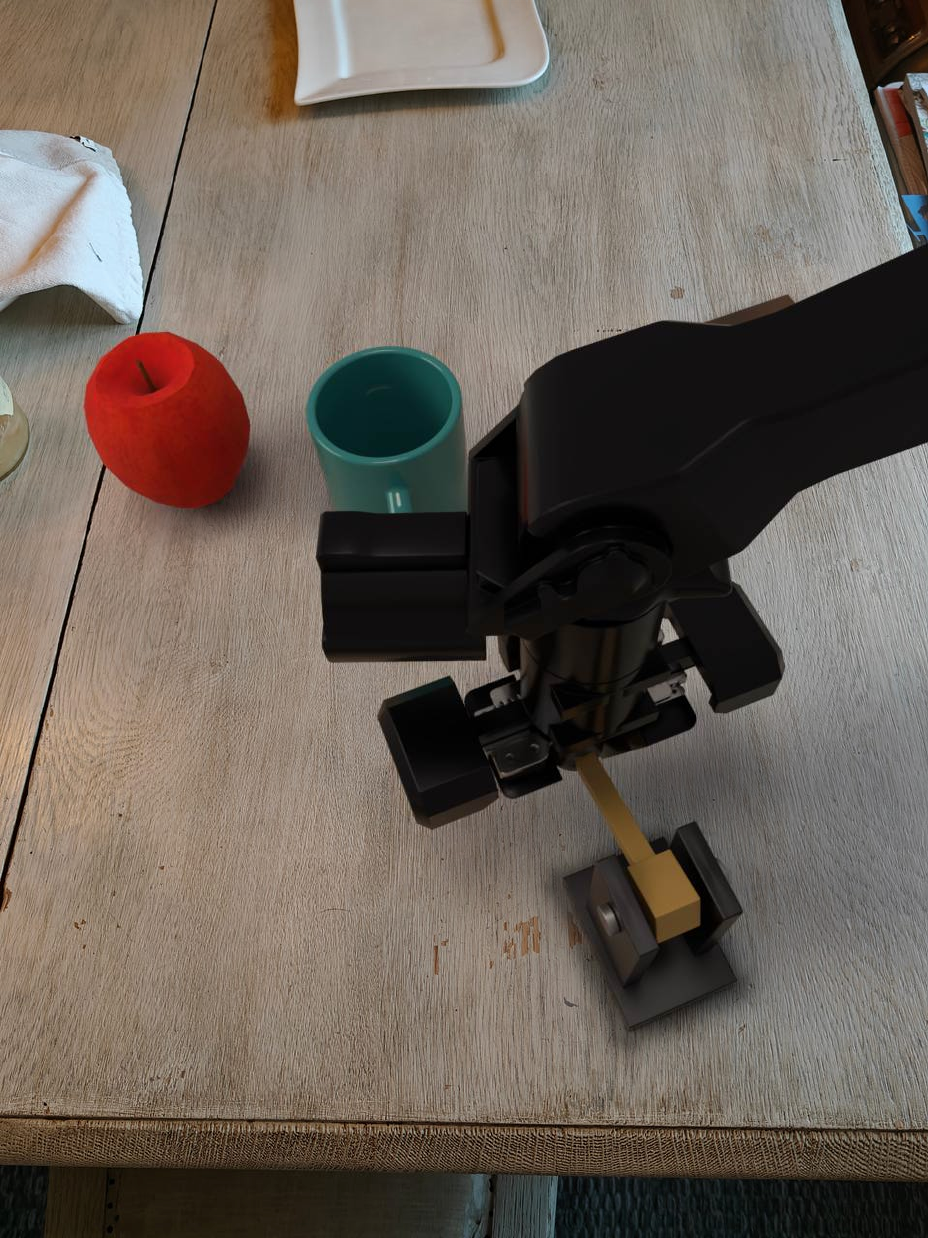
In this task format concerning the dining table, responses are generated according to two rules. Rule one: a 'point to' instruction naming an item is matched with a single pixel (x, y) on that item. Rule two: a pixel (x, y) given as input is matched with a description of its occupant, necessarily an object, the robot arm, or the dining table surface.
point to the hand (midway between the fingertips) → (573, 760)
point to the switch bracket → (626, 943)
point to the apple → (167, 420)
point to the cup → (390, 433)
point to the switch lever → (638, 852)
